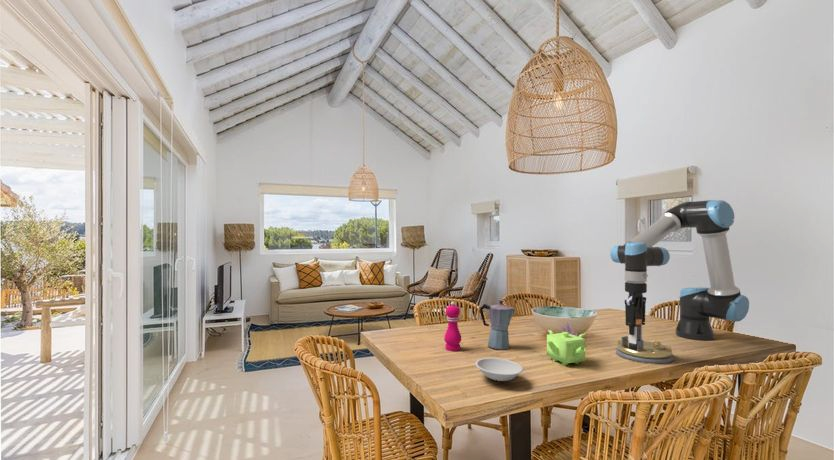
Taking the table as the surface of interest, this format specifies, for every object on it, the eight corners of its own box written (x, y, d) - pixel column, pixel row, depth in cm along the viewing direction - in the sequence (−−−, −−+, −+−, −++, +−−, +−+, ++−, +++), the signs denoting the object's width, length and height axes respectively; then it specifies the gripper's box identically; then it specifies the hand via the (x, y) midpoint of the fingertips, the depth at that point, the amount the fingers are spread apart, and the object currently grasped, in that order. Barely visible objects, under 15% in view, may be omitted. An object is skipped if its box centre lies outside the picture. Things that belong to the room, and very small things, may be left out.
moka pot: (516, 351, 169) (516, 303, 169) (478, 349, 172) (479, 301, 172) (515, 345, 179) (515, 299, 179) (480, 343, 182) (480, 298, 182)
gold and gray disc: (606, 348, 168) (606, 333, 168) (637, 342, 176) (637, 328, 176) (651, 361, 151) (651, 345, 151) (682, 354, 159) (682, 339, 159)
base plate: (633, 346, 177) (633, 342, 177) (683, 358, 160) (683, 354, 160) (605, 353, 167) (605, 349, 167) (656, 367, 150) (656, 363, 150)
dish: (466, 375, 142) (466, 360, 142) (500, 369, 148) (500, 355, 148) (495, 393, 126) (495, 377, 126) (533, 386, 131) (533, 370, 131)
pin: (626, 348, 160) (626, 318, 160) (631, 347, 163) (632, 316, 162) (637, 351, 156) (638, 320, 156) (643, 349, 159) (643, 319, 159)
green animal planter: (547, 354, 166) (547, 326, 166) (585, 358, 161) (585, 329, 161) (544, 365, 152) (544, 335, 152) (585, 370, 147) (585, 339, 147)
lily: (557, 352, 172) (569, 334, 169) (545, 334, 183) (556, 317, 180) (580, 358, 175) (592, 341, 172) (567, 341, 186) (578, 324, 183)
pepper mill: (442, 350, 170) (442, 302, 170) (446, 345, 177) (446, 299, 177) (459, 352, 168) (459, 303, 168) (463, 347, 175) (463, 300, 175)
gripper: (635, 284, 151) (635, 348, 151) (655, 281, 162) (655, 340, 162) (615, 282, 157) (615, 343, 157) (635, 279, 168) (635, 336, 168)
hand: (635, 342), depth 159 cm, fingers closed on pin, 4 cm apart
